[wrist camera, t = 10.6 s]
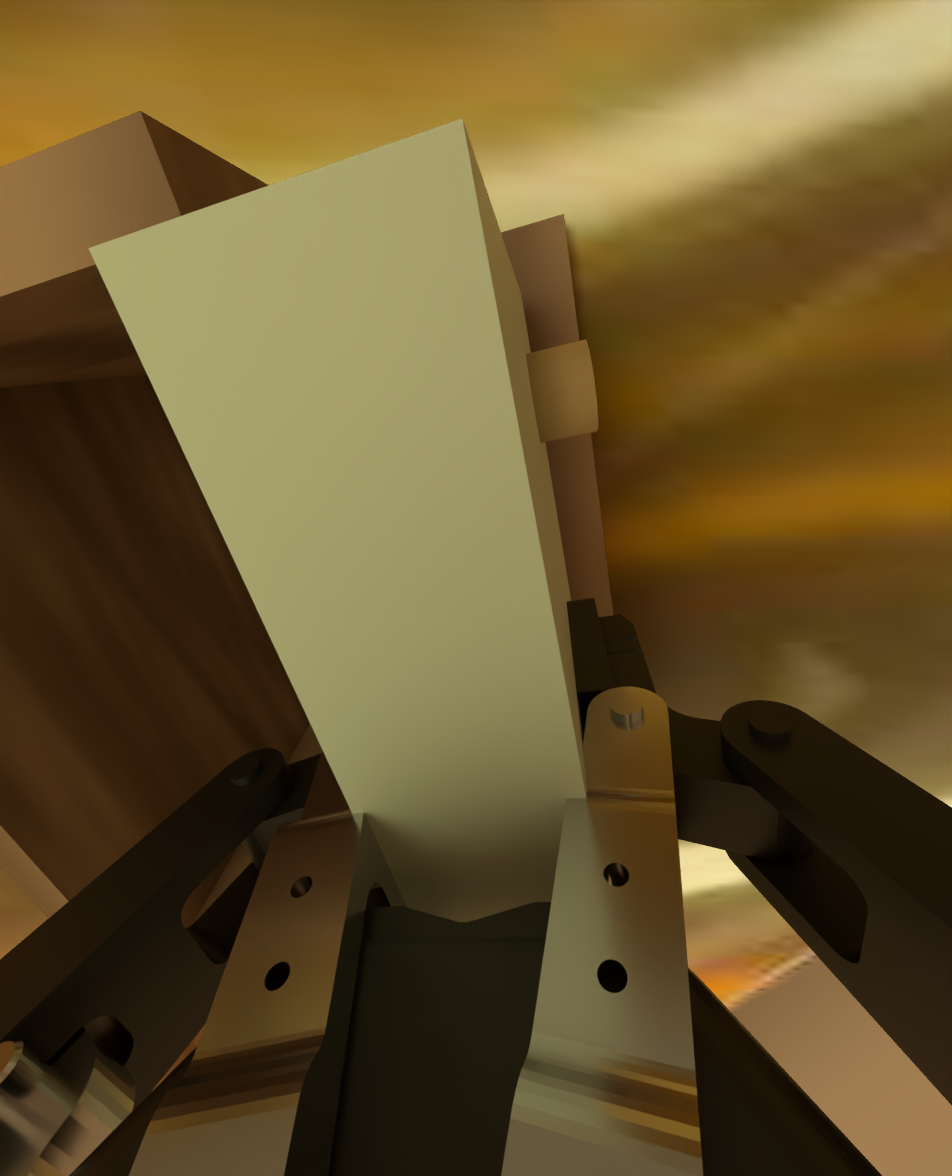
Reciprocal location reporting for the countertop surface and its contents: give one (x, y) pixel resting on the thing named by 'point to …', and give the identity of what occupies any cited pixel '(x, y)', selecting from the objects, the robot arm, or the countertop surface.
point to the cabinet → (150, 527)
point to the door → (387, 492)
